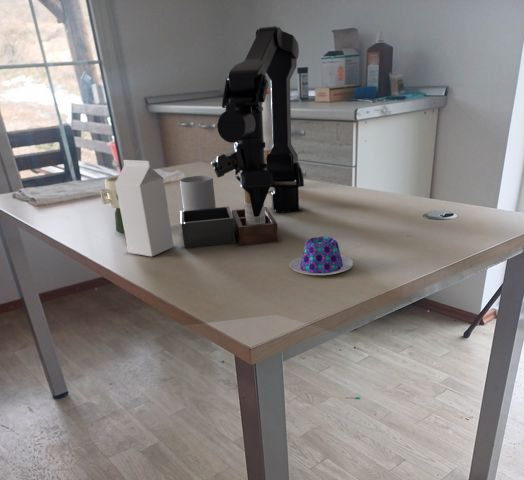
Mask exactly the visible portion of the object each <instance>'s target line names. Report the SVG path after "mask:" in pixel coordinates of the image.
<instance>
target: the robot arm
mask: <svg viewBox="0 0 524 480" xmlns="http://www.w3.org/2000/svg"><path fill="white" fill-rule="evenodd" d="M299 46H300V45H299V43H298V41H297V39H296V38H295V36H294V35H293V34H291V33H288V32H286V31H283V30H282V29H281V27H279V26H277V25H274V26H273V25H271V26H262V27H261V26H260V28H257V29H256V31H255V38H254V40H253V42H252V44H251V46H250V48H249V50H248V52H247V54H246V56H245V58H244V60H243V61H241V62H239V63H236V64H235V65H234V66H233V67H232V68H231V69H230V70H229V72H228V74H227V77H226V79H225V84H224V90H223V96H222V102H221V108H222V109H225V111H223V112H222V113H221V114H220V116H219V118H218V120H217V124H216V128H217V132H218V134H219V136H220V138H221V139H223V140H224V141H225V142H227V143H230V144H233V143H234V144H233V147H234V149H233V150H231V151H227V152H226V153H222V154H220V155H217V156H216V157H215V158H214V159H212V160H210V164H211V167H212V168H213V171H214V173H215V176H216V177H217V178H221V177H224V176H225V174H227V173H230V172H232V171H233V174H234V176H235V178H236V180H237V181H238V182H240V187H241V188H242V190H243V189H244V190H246V191H247V192H248V193H249V198H250V202H251V206H252V210H253V214H254V217H259V215H260V213H261V210H262V207H263V204H264V205H265V201H266V198H267V196H268V193H269V192H270V195H271V208H272V209H273V211H275V213H276V214H281V213H282V214H283V213H291V212H299V211H301V207H300V198H299V197H300V195H299V188H301V187H304V186H305V179H304V173H303V170H302V167H301V164H300V162H299V156H298V153H297V152H296V150H295V148H294V146H293V144H292V120H291V119H292V117H291V116H292V112H291V109H292V107H291V106H292V105H291V79H292V77H293V75H294V73H295V71H296V69H297V66H298V65H297V63H298V58H299V55H300V47H299ZM267 76H268V77H267ZM268 78H269V80H270V89H271V102H272V132H273V147H272V149H271V151H270V153H269V154H268V155H267V157H266V160H267V164H266V163H265V160H264V148H265V142H264V138H263V118H262V111H263V107H262V103H263V102H264V101H265V97H266V93H267V89H269V80H268ZM270 187H273V191H269V188H270ZM244 190H243V191H244Z"/></svg>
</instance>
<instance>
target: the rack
mask: <svg viewBox="0 0 524 480" xmlns="http://www.w3.org/2000/svg"><path fill="white" fill-rule="evenodd" d="M264 209H265V224H256V225H246V216H245V208H239V209H231V214H232V216H233V219H234V231H235V236H236V237H237V240H238V244H239V245H240V246H244V245H245V246H246V245H247V246H248V245H256V244H266V243H267V244H268V243H276V242H277V243H278V242H279V230H278V229H279V227H278V222H277V221H276V219H275V217H274V216H273V215H272V213H271V212H270V210H269V209H268V207H267V206H264Z"/></svg>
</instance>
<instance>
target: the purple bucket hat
mask: <svg viewBox="0 0 524 480" xmlns="http://www.w3.org/2000/svg"><path fill="white" fill-rule="evenodd" d="M353 265H354V261H353V259H351V258H350V257H348V256H345V255H342V254H341V251H340V246H339V243H338V241H337V240H336V239H334V238H333V237H330V236H315V237H311V238H309V239H307V240H306V242H305V243H304V246H303V251H302V255H301V256H299V257H296V258H294V259H293V260H291V261H290V263H289V267H290V268H291V270H293V271H295V272H297V273H300V274H304V275H310V276H328V275H329V276H330V275H336V274H339V273H342V272H346V271H348V270H350V269H352V267H353Z"/></svg>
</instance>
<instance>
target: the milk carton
mask: <svg viewBox="0 0 524 480" xmlns="http://www.w3.org/2000/svg"><path fill="white" fill-rule="evenodd" d="M118 176H119V177H118V178H117V180H116V182H115V185H116V190H117V195H118V200H119V206H120V211H121V216H122V221H123V226H124V231H125V234H124V236H125V241H126V247H127V251H128V253H129V254H134V255H139V256H140V255H141V256H147V257H154V256H156V255H159V254H161V253H163V252H165V251H168V250H170V249H173V248H174V239H173V233H172V226H171V218H170V212H169V205H168V199H167V193H166V186H165V179H164V177H163V176H162V175H160V173H158V172H157V171H156V170H155V169H154V168H153V167H151V164H150V160H137V159H135V160H134V159H123V166H122V169H121V171H120V172H119V175H118Z"/></svg>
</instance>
